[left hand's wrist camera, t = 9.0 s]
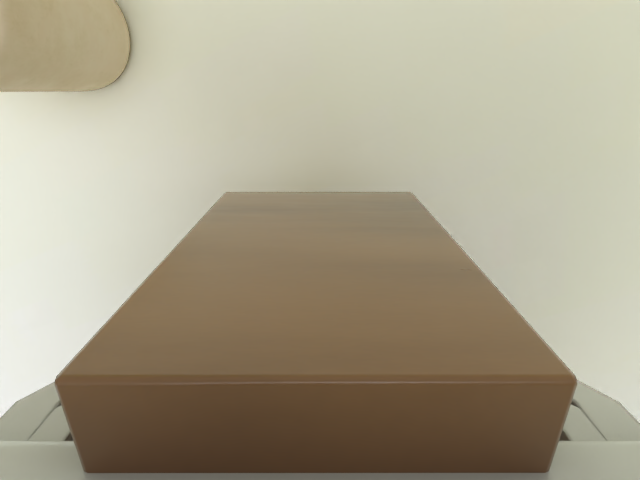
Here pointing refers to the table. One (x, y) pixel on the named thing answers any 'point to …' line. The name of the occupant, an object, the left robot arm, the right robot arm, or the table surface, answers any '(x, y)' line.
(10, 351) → the table surface
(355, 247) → the bar
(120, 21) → the candle
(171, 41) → the table surface
